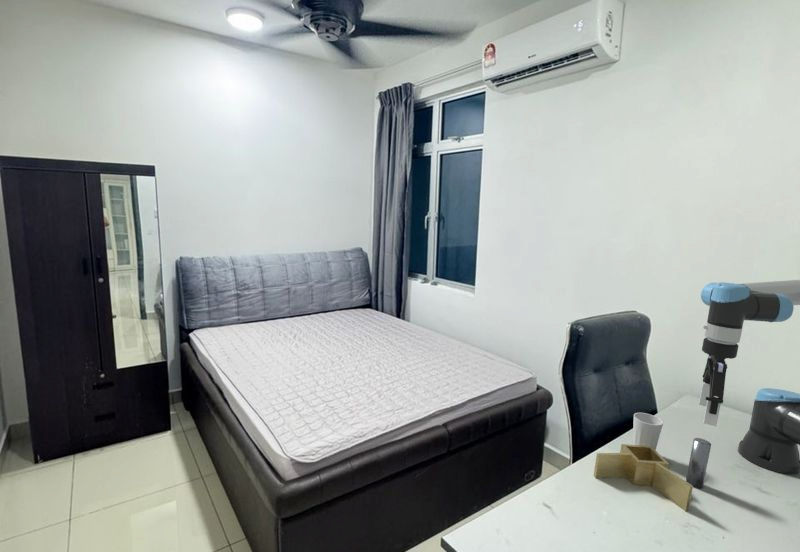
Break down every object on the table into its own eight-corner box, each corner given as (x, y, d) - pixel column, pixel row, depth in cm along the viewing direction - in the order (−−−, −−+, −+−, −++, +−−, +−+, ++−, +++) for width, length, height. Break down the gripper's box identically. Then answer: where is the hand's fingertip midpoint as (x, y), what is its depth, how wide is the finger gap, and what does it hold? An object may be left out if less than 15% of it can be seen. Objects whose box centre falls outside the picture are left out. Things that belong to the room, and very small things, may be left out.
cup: (629, 457, 130) (635, 421, 128) (626, 444, 138) (632, 410, 136) (659, 464, 127) (665, 427, 126) (654, 451, 135) (660, 416, 133)
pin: (696, 480, 120) (704, 438, 118) (706, 489, 117) (714, 446, 115) (682, 479, 121) (690, 437, 119) (691, 488, 117) (700, 445, 115)
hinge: (648, 467, 125) (652, 446, 124) (689, 511, 107) (693, 486, 106) (584, 463, 125) (587, 441, 124) (614, 506, 107) (618, 481, 106)
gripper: (700, 328, 125) (687, 395, 128) (709, 348, 103) (694, 428, 107) (731, 333, 121) (718, 402, 124) (747, 355, 100) (730, 438, 103)
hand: (706, 414), depth 115 cm, fingers open, 13 cm apart
